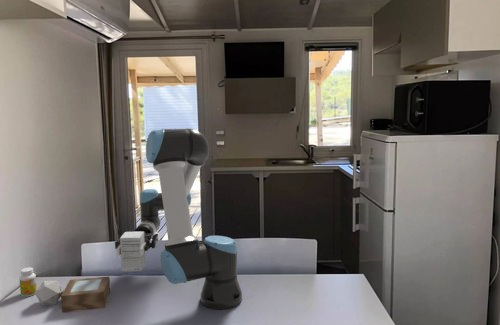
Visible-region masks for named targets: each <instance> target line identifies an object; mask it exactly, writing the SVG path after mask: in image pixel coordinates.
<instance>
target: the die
mask: <svg viewBox="0 0 500 325" xmlns="http://www.w3.org/2000/svg"><path fill="white" fill-rule="evenodd" d="M64 290H65V289H63V287H62V285H61V284H60V282H59V280H43V282H42V283H41V284H40V285H39V287H38V288H37V291H36V292H35V294H34V296H36V298H37V299H38V301H39V303H40V305H57V303H58V301H59V300H61V295H62V293H63V292H64Z"/></svg>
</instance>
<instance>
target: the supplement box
mask: <svg viewBox="0 0 500 325" xmlns="http://www.w3.org/2000/svg"><path fill="white" fill-rule="evenodd" d="M119 239H120V248H121V254H120V262H121V271H122V272H142V271H143V270H144V269H143V268H144V267H145V265H146V263H147V261H146V251H145V252H144V254H143V255H142V256H140V248H141V246H142V245H143V243H145V239H144V232H142V231H139V232H134V231H125V232H123V234H122V235H121V236H120V238H119Z"/></svg>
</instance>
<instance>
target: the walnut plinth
mask: <svg viewBox="0 0 500 325" xmlns="http://www.w3.org/2000/svg"><path fill="white" fill-rule="evenodd" d="M110 282H111V279H110V276H100V277H99V276H98V277H97V276H96V277H87V278H76V279H70V280H69V281H68V283H67V284H66V286H65V288H64V289H63V290H64V292H63V293H62V295H61V297H60V301H61V302H60V303H61V313H68V312H77V311H78V312H79V311H89V310H99V309H105V308H106V306H107V303H108V300H109V296H110V293H111V283H110Z"/></svg>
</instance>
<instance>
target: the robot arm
mask: <svg viewBox="0 0 500 325" xmlns="http://www.w3.org/2000/svg"><path fill="white" fill-rule="evenodd" d="M209 155H210V146H209V141H208V139H207V138H206V137H205V135H204V134H203V133H202V132H200V131H198V130H197V129H195V128H170V129H169V128H167V129H166V128H161V129H155V130H151V131H150V132H149V134H148V135H147V138H146V145H145V158H146V160H147V163H148V164H152V166H153V169H154V170H155V171H156V172H157V173H158V178H159V183H160V193H159V191H158V190H157V189H156V188H149V189H148V188H146V189H143V190H141V191H140V193H139V205H140V207H139V208H140V223H139V224H138V225H137V227H136V228H134V231H133V232H139V231H142V232H144V239H145V243H143V245H142V246H141V248H140V256H142V255H143V254H144V252H145V253H146V252H148V250H150V248H151V249H155V248H156V244H157V242H158V241H159V234H158V233H157V231H158V230H159V228H160V226H161V224H162V223H161V218H160V216H159V212H160V211H163V212H164V213H163V214H164V219H165V226H166V233H167V241H166V242H165V244H164V250H162V251H161V253H160V264H161V268H162V271H163V273H164V276H165V277H166V279H167V281H168V282H169V283H171V284H172V285H178V284H186V283H188V282H191V281H196V280H200V279H203V278H204V282H203V286H202V288H201V292H200V302H201V305H203V306H204V307H206V308H208V309H214V310H226V309H227V310H228V309H231V308H234V307H236V306H238V305H240V304H241V303H242V301H243V291H242V289H241V286H240V283H239V281H238V248H237V247H238V246H237V242H236V241H235V240H234V238H231V237H228V236H223V235H208V236H206V237H205V238H204V240H203V243H200V241H199V238H197V237H196V236H194V233H193V232H194V231H193V226H192V220H191V215H190V213H191V212H190V208H189V207H190V205H191V202H192V196H191V190H192V187H193V186H194V183H195V181H196V178H197V177H198V174H199V172H200V170H201V167H202V166H204V165H205V164H206V162H208V160H209V157H210V156H209ZM114 249H115V250H116V257H121V248H120V238H118V239H117V240H116V241H115V242H114Z"/></svg>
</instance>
